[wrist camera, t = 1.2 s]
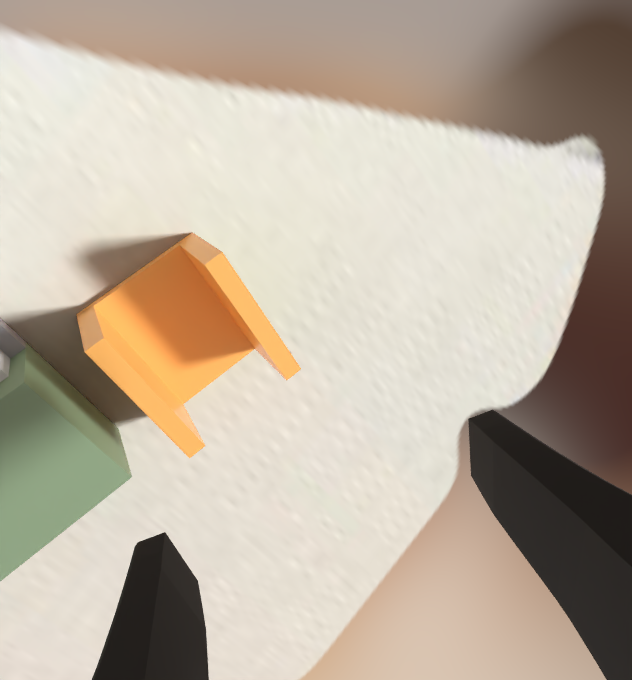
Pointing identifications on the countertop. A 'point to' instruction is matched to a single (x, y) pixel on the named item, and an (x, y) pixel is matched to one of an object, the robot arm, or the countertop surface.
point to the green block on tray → (48, 453)
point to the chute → (178, 333)
